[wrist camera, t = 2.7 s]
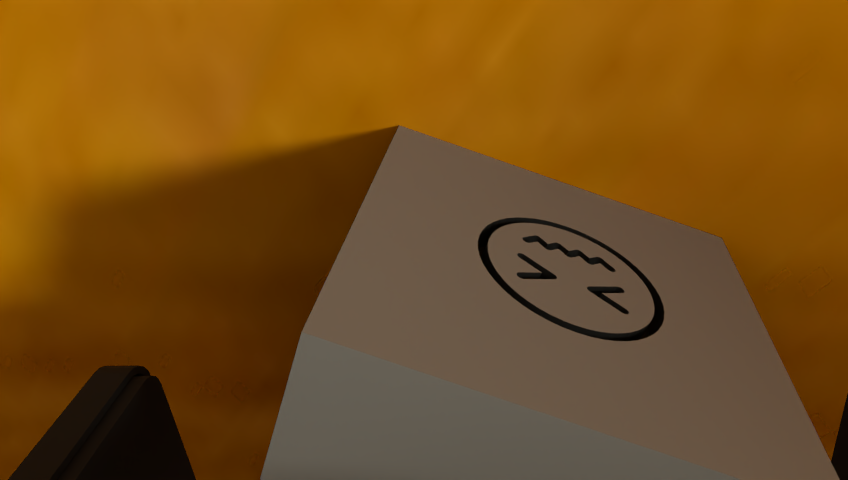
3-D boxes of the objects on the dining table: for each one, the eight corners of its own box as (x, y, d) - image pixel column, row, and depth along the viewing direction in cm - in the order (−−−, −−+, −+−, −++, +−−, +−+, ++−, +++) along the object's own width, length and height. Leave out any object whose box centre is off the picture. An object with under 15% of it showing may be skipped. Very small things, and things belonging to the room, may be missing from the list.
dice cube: (322, 371, 13) (212, 645, 8) (399, 124, 10) (301, 332, 6) (580, 458, 13) (606, 768, 8) (720, 235, 10) (858, 518, 6)
